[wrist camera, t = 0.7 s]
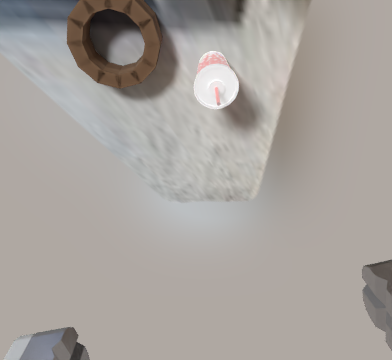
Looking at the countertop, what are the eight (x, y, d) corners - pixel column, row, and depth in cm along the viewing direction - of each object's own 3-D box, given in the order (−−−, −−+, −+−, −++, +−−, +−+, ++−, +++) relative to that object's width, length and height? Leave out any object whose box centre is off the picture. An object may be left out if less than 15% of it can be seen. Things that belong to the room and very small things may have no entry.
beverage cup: (188, 52, 48) (186, 88, 37) (227, 40, 47) (237, 72, 36) (200, 89, 52) (201, 131, 41) (236, 78, 51) (248, 118, 40)
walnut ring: (109, -36, 41) (102, -34, 38) (178, 37, 47) (177, 44, 44) (59, 35, 47) (49, 42, 43) (126, 93, 52) (121, 103, 49)
